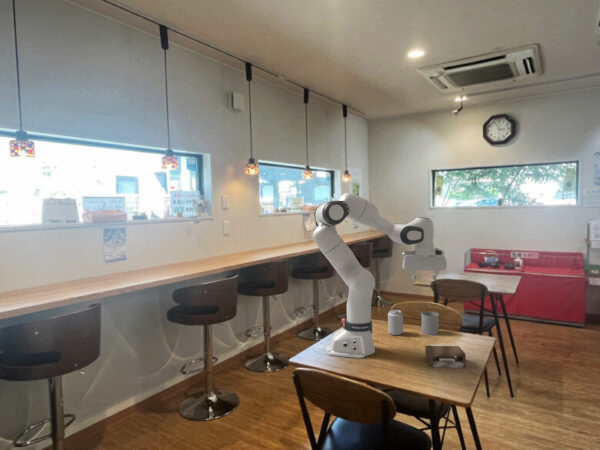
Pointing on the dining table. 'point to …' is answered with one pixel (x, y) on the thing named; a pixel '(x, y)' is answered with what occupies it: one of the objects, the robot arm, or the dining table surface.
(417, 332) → the dining table surface
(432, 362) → the cabinet
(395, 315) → the can
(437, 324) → the cup
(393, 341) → the dining table surface
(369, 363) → the dining table surface
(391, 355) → the dining table surface
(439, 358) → the white and orange box
